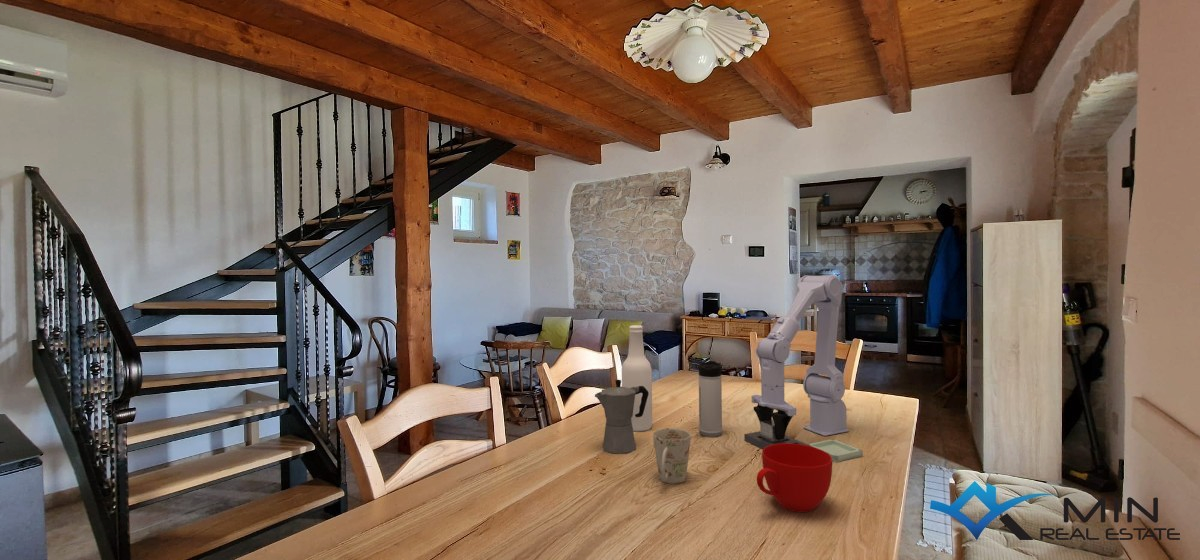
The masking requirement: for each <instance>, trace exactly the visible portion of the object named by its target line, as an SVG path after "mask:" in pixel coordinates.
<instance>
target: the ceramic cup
mask: <svg viewBox="0 0 1200 560" xmlns="http://www.w3.org/2000/svg"><path fill="white" fill-rule="evenodd" d="M761 460H762V468H761V469H760V470H759V471H758V472H757V475H756V484H757V486H758V489H760V490H761V491H762V492H763V493H765V494H766V495H770V496H773V497H774V498H775V500H776V501H777V502H778V503H779V505H780V506H781V507H783V508H784V509H786V510H789V511H792V512H797V513H808V512H811V511H813V510H815V508H816V507H817V506H818V505H820V504H821V502H823V500H824V499H825V498H826V496H827V494H828V491H829V490H830V486H831V482H832V476H833V475H832V474H833V461H832V457H831V456H830V455H829V454H828V453H827V452H825V451H823V450H821V449H818V448H815V447H811V446H807V445H801V444H792V443H781V444H773V445H769V446H767V447H765V448H764V449H762V451H761ZM764 479H765V482H766V485H767V487H768V489H767V488H766V487H765V485H764Z"/></svg>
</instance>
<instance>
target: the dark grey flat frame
mask: <svg viewBox="0 0 1200 560" xmlns="http://www.w3.org/2000/svg"><path fill="white" fill-rule="evenodd" d="M743 437H744V439H743V440H744V442H746V443H749V444H750V445H752V446H755V447H756V448H759V449H761V450H763V449H764V448H765V447H767V446H769V445H773V444H781V443H792V444H801V445H807V446H810V445H808V444H809V443H806V442H805V443H804V442H802V441H799V440H798V439H795V438H792V437H790V436H789V435H786V441H784V442H779V443H773V444H772V443H769V442H767V441H765V440H763V439H761V433H760V430H759V431H755V432H749V433H748V432H747V433H744V435H743ZM811 447H812V446H811ZM828 454H829V453H828Z"/></svg>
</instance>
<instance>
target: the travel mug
mask: <svg viewBox="0 0 1200 560" xmlns="http://www.w3.org/2000/svg"><path fill="white" fill-rule="evenodd" d="M722 389H723V388H722V364H721V363H719V362H716V361H715V360H709V361H706V362H705V361H704V362H701V363H699V364H698V423H699V424H698V426H699V427H698V428H699V430H698V431H699V432H698V433H699V434H700V435H701V436H702V437H707V438H717V437H720V436H722V435H723V408H722V406H723V405H722V404H723V400H722V397H723V396H722V395H723V394H722V391H723V390H722Z"/></svg>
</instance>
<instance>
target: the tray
mask: <svg viewBox="0 0 1200 560" xmlns="http://www.w3.org/2000/svg"><path fill="white" fill-rule="evenodd" d="M807 444H808V445H810V446H812V447H815V448H818V449H821V450H823V451H825V452H827V453H829V455H830V456H831V457H832V463H833V462H834V463H839V462H842V461H848V460H852V459H857V458H861V457H864V456H863V455H864V454H863V452H864V451H863V449H860V448H857V447H854V446H852V445H850V444H847V443H844V442H842V441H839V440H836V439H833V438H832V439H827V440H821V441H817V442H811V443H807Z"/></svg>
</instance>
